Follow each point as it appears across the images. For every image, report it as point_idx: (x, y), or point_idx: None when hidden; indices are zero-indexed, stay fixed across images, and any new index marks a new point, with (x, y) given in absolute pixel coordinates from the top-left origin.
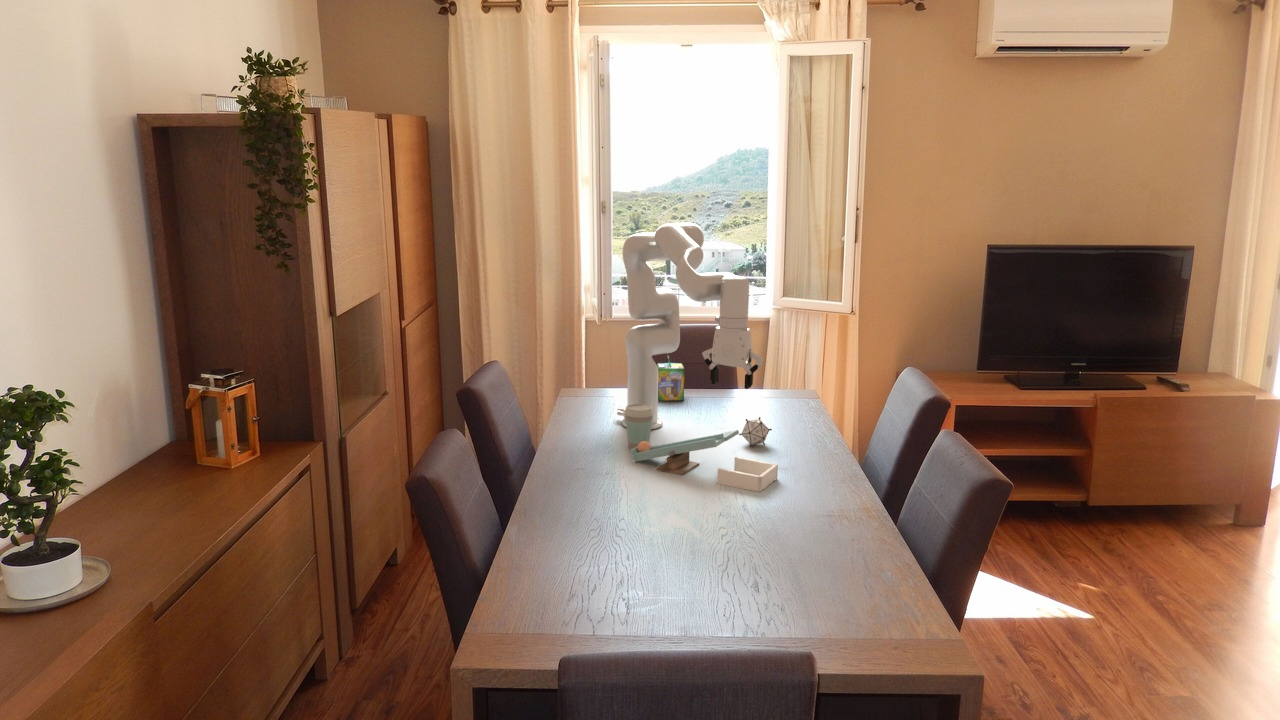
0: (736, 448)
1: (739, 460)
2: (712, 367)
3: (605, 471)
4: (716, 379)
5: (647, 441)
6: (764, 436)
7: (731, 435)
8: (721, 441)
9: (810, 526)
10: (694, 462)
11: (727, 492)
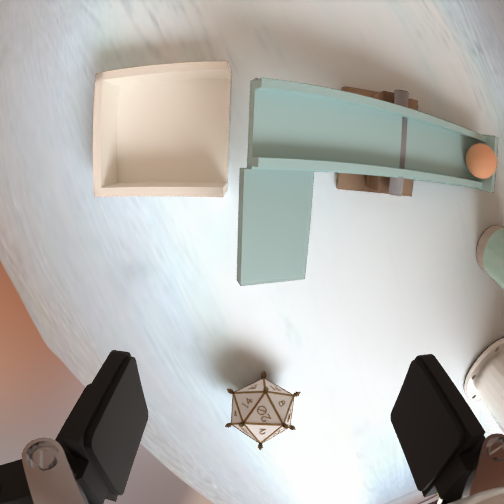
0: (292, 352)
1: (207, 186)
2: (486, 457)
3: (487, 60)
4: (408, 410)
5: (486, 249)
6: (232, 398)
7: (240, 218)
8: (250, 136)
9: (10, 11)
10: (350, 185)
11: (183, 33)
